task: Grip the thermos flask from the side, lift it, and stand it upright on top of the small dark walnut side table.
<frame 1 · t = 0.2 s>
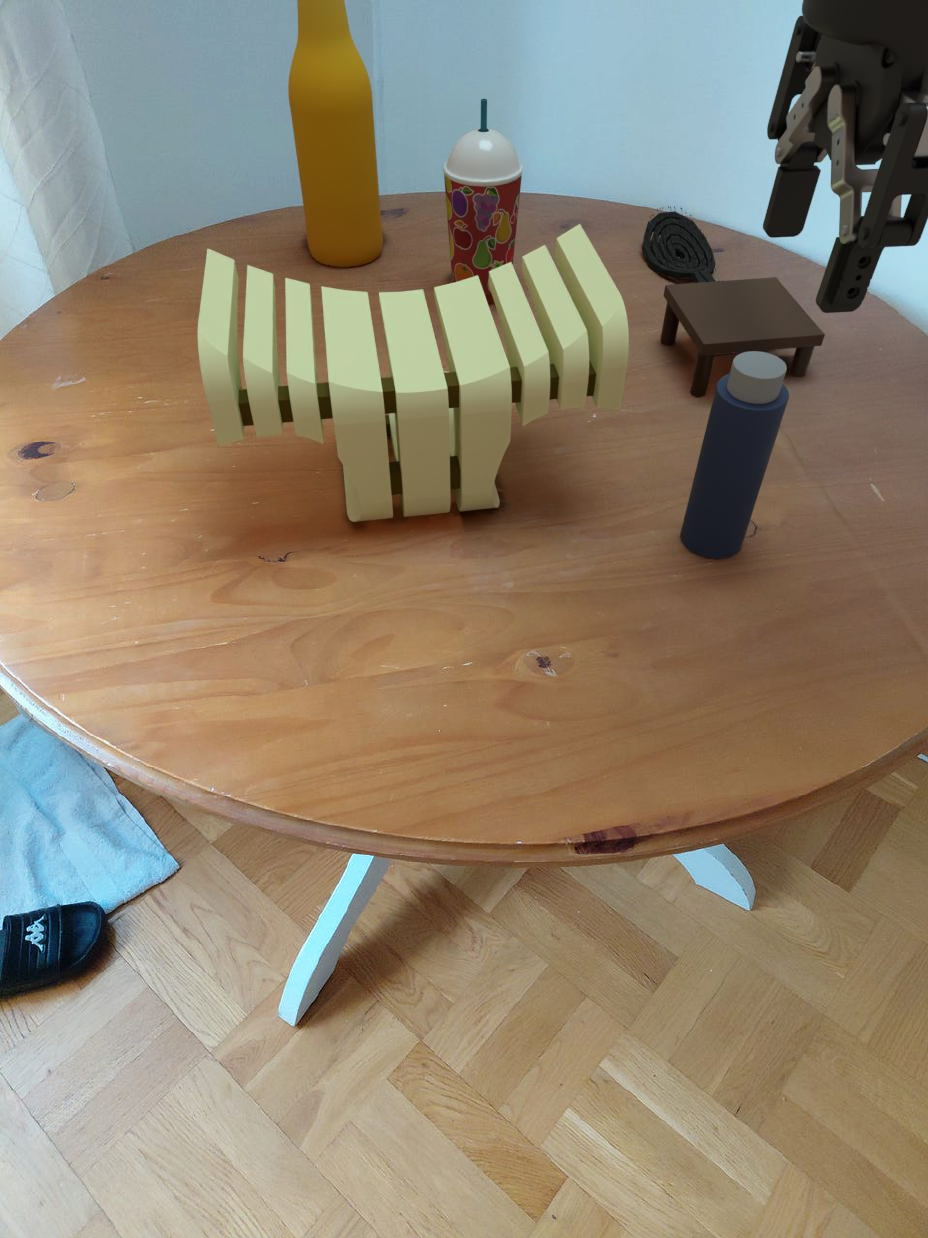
hand: (806, 269, 48), 26 cm above the table, tool pointing down, fingers open, 8 cm apart
thermos flask: (711, 538, 71), on the table
slatted curved stool: (418, 476, 77), on the table
beer bottle: (346, 253, 107), on the table
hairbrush: (690, 283, 102), on the table
smoothie: (481, 294, 100), on the table
side table: (728, 362, 89), on the table
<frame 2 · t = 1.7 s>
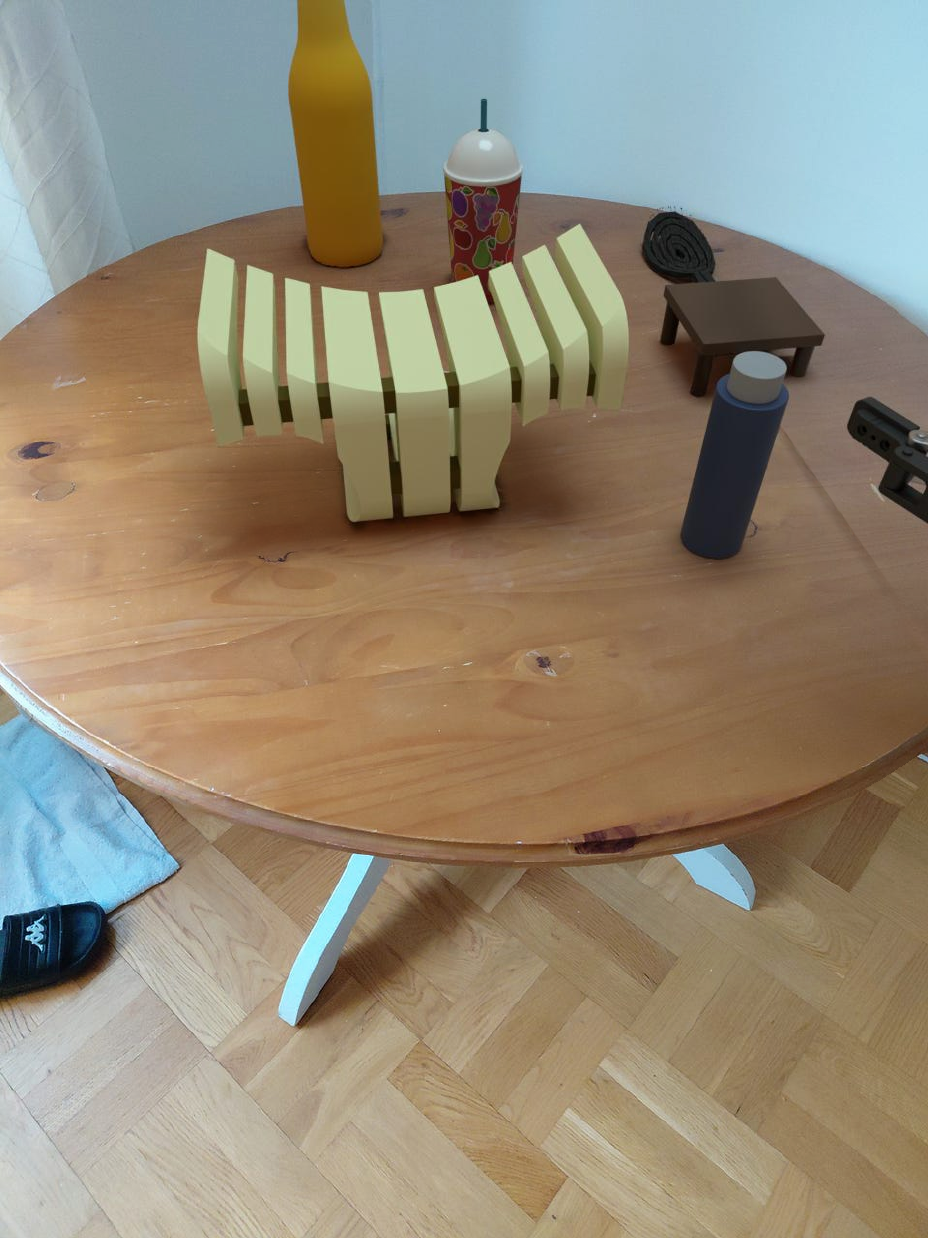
hand: (908, 391, 50), 20 cm above the table, tool horizontal, fingers open, 8 cm apart
nothing on the table moved.
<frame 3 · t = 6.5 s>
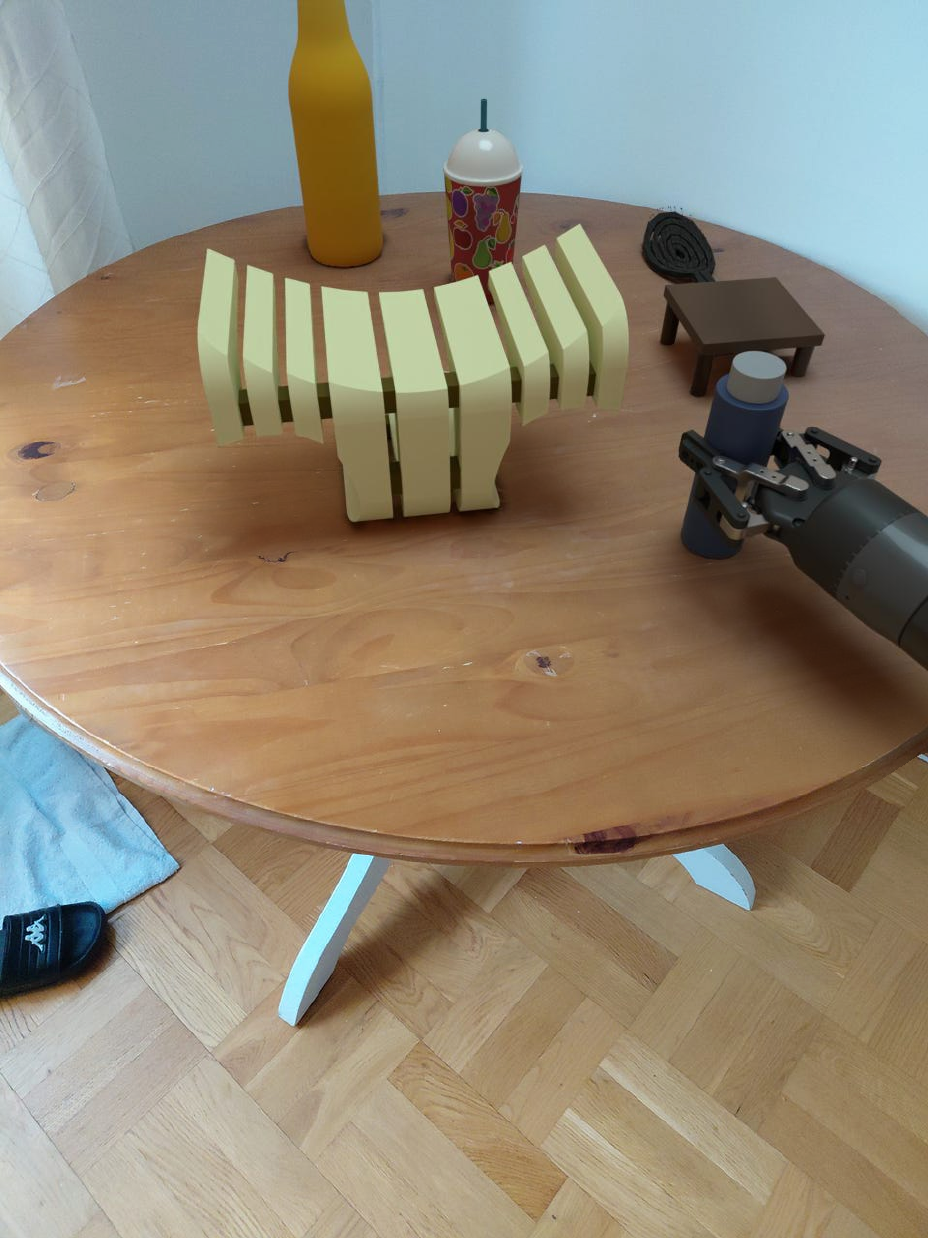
hand: (713, 430, 66), 9 cm above the table, tool horizontal, fingers closed on thermos flask, 5 cm apart
thermos flask: (711, 538, 71), on the table, touching gripper
everything else where it was.
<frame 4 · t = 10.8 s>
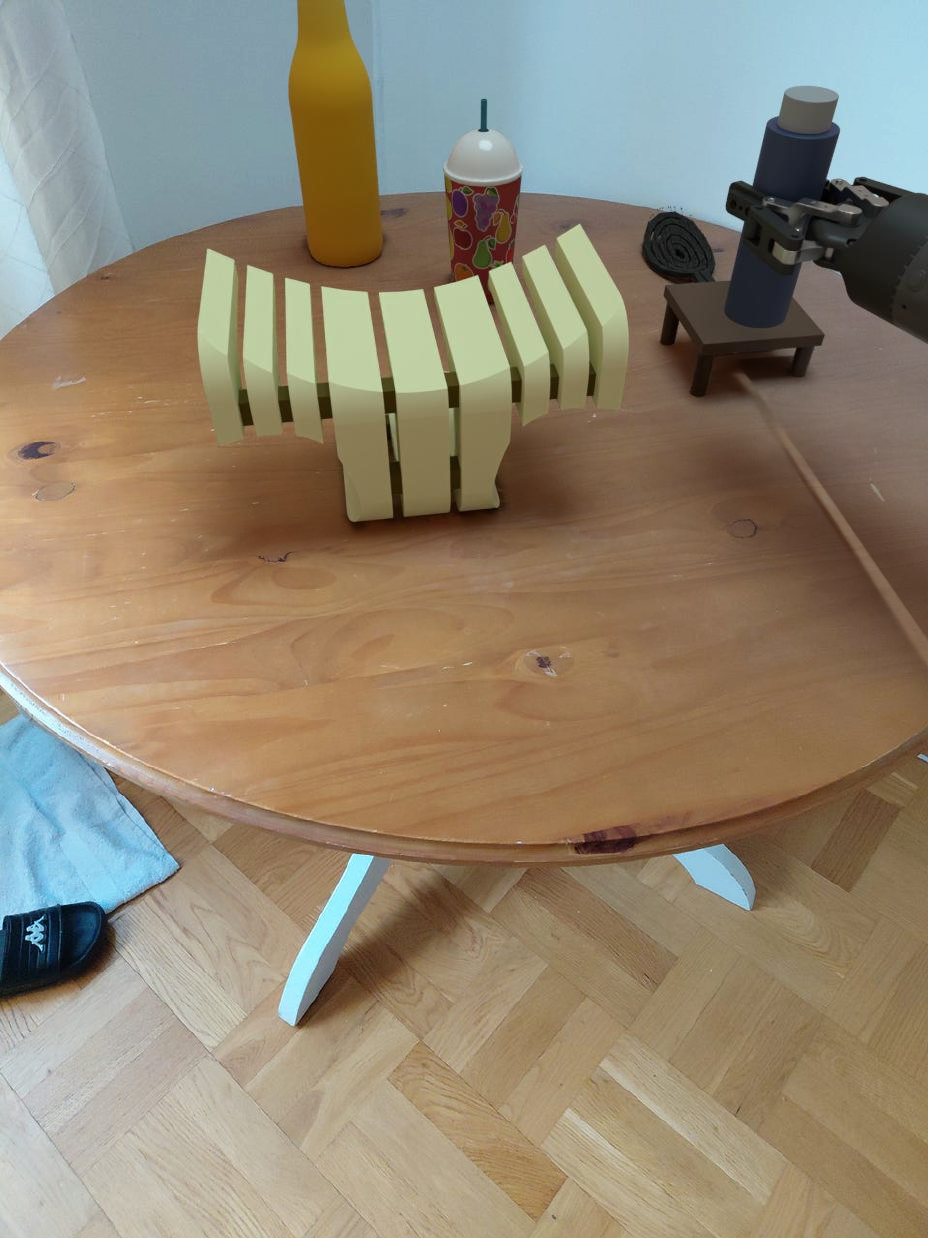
hand: (760, 187, 65), 22 cm above the table, tool horizontal, fingers closed on thermos flask, 5 cm apart
thermos flask: (754, 313, 70), point 13 cm above the table, touching gripper
everything else where it was.
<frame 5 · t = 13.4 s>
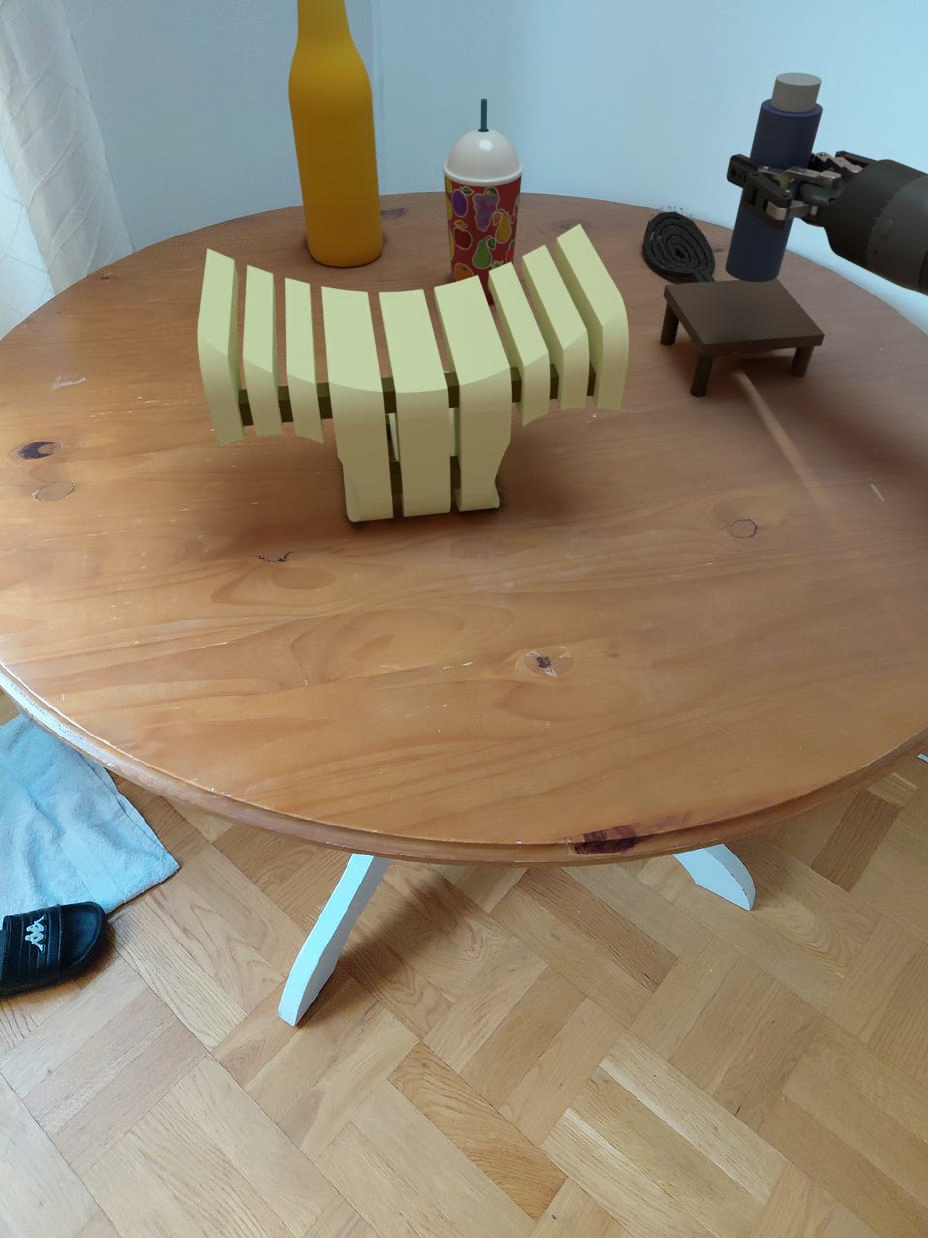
hand: (756, 160, 77), 19 cm above the table, tool horizontal, fingers closed on thermos flask, 5 cm apart
thermos flask: (751, 270, 82), point 10 cm above the table, touching gripper
everything else where it was.
when the fingers open (15 cm above the table, at t = 15.1 s): thermos flask stays where it is, resting on side table.
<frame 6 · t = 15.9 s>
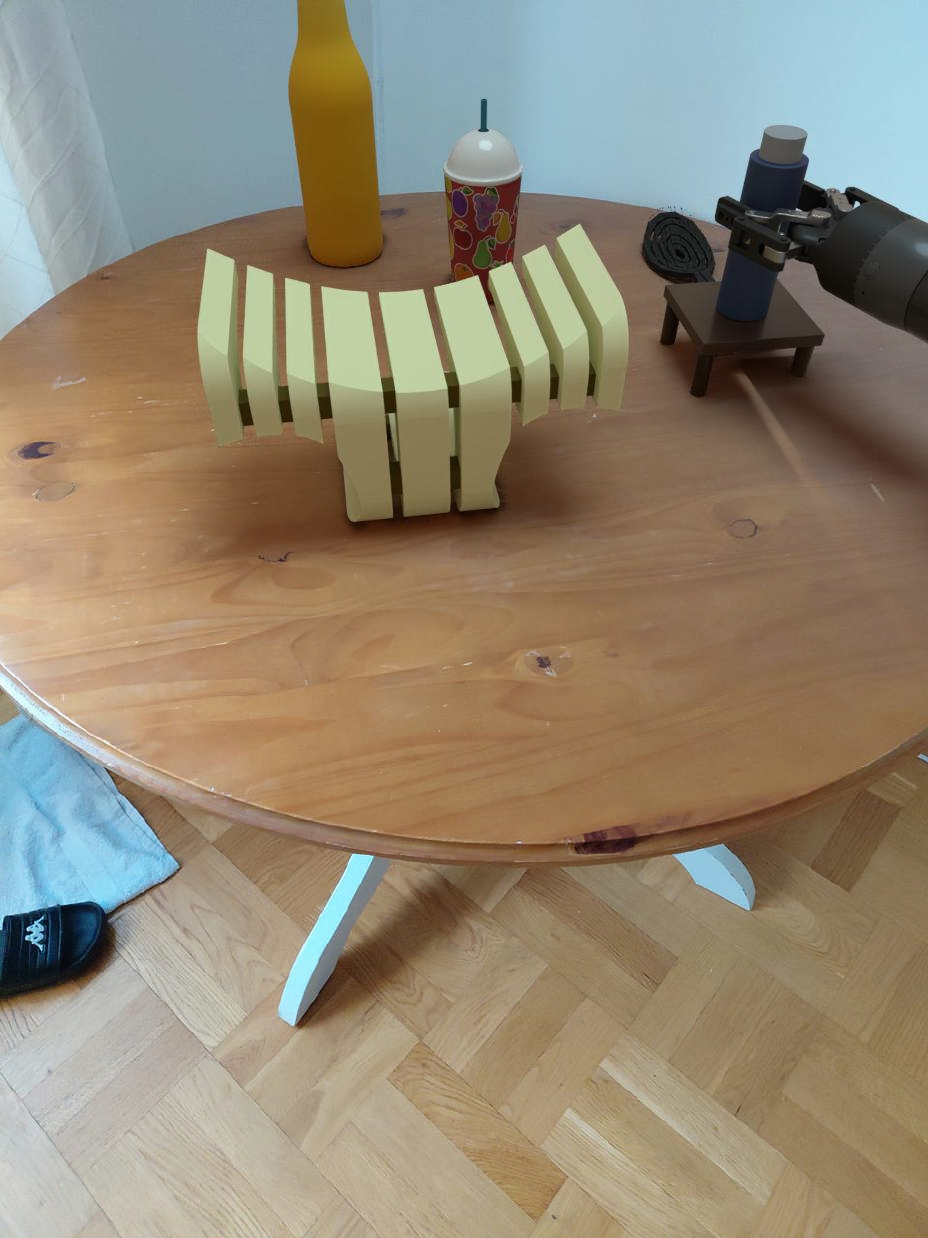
hand: (755, 197, 79), 16 cm above the table, tool horizontal, fingers open, 8 cm apart
thermos flask: (741, 309, 85), point 6 cm above the table, touching side table
everything else where it was.
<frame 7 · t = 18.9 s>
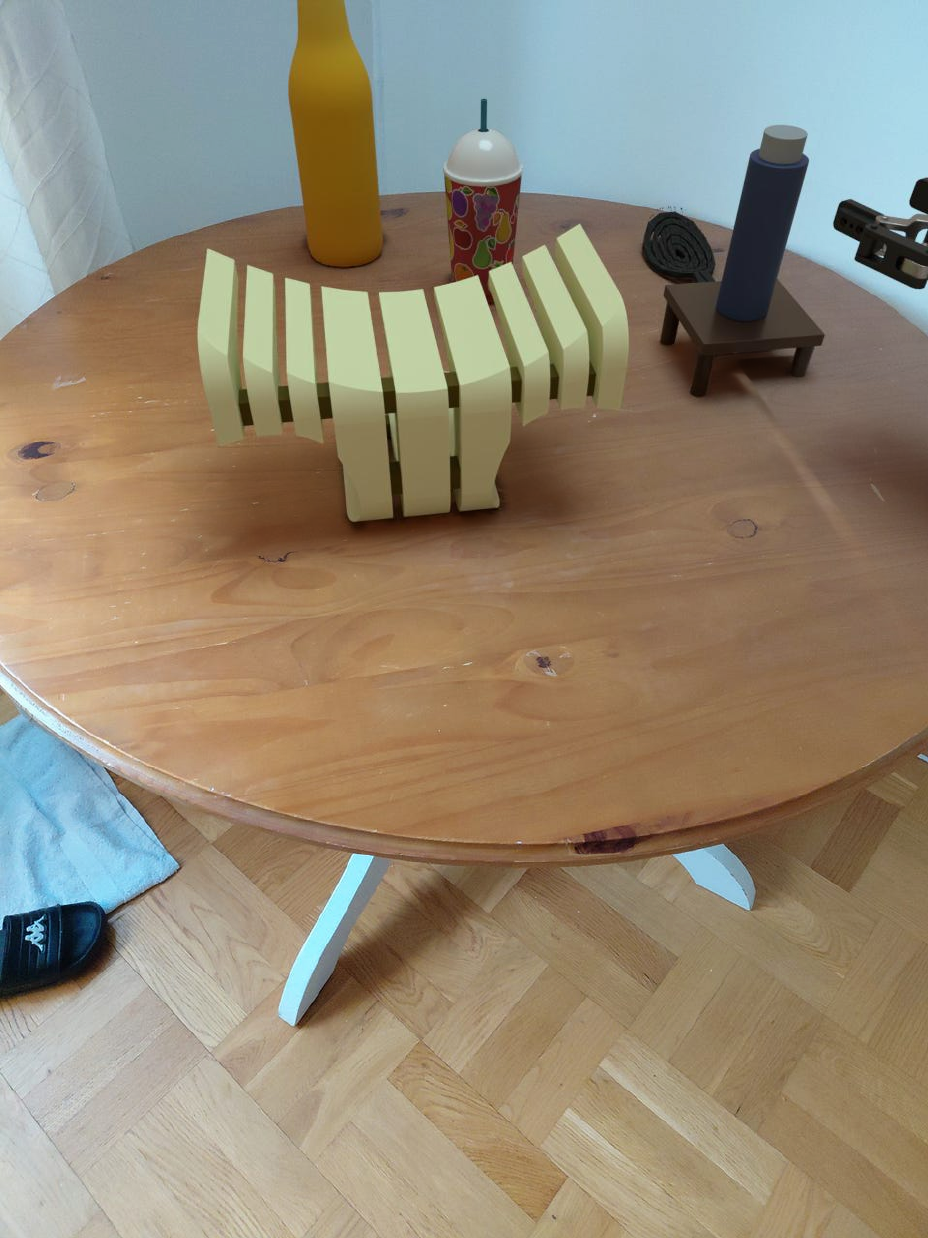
hand: (878, 201, 68), 20 cm above the table, tool horizontal, fingers open, 8 cm apart
nothing on the table moved.
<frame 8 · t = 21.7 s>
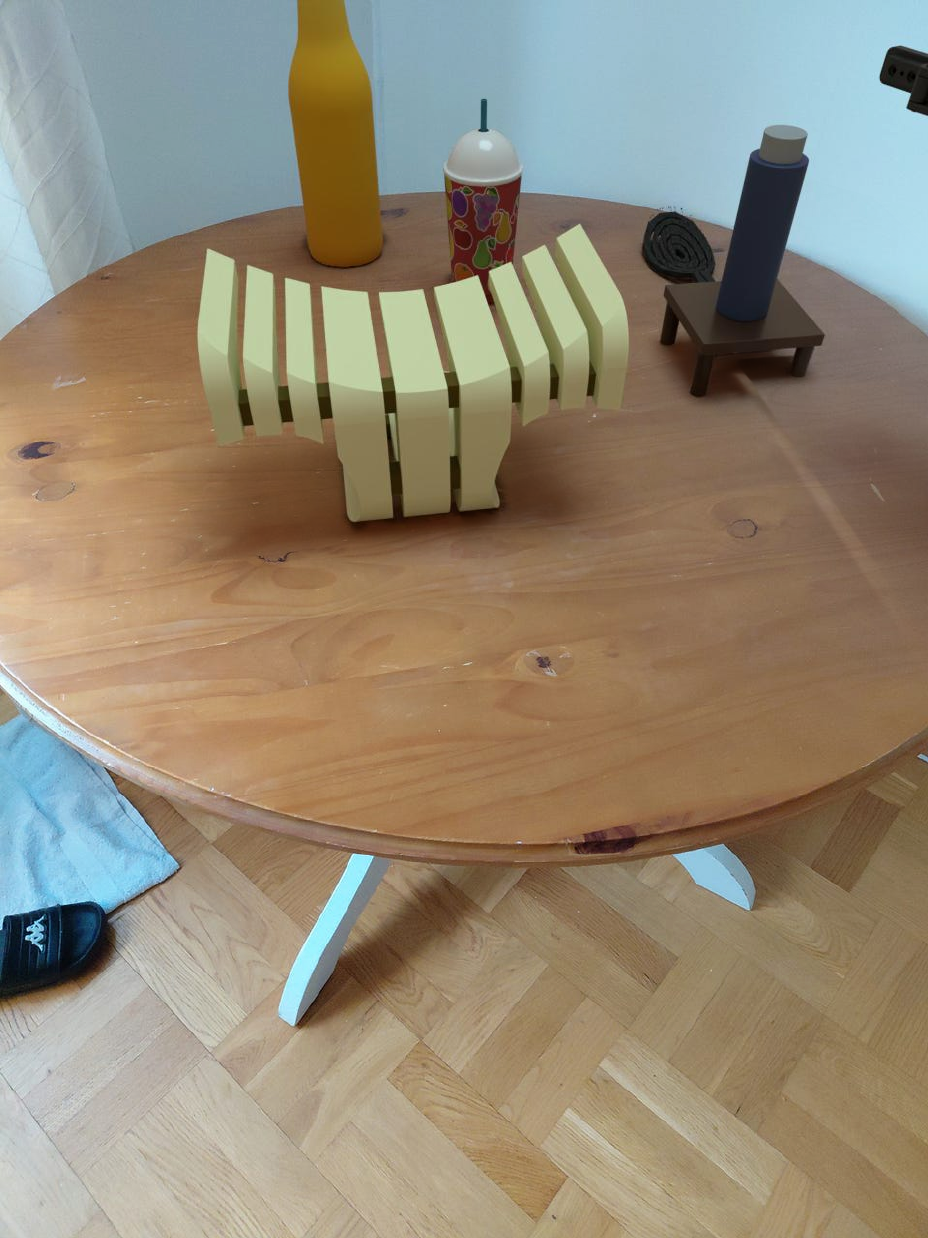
nothing on the table moved.
at the end: thermos flask inside the target area on the side table (0.1 cm from its centre), point 6.0 cm above the side table's base; thermos flask tilted 0°; the gripper is holding nothing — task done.
